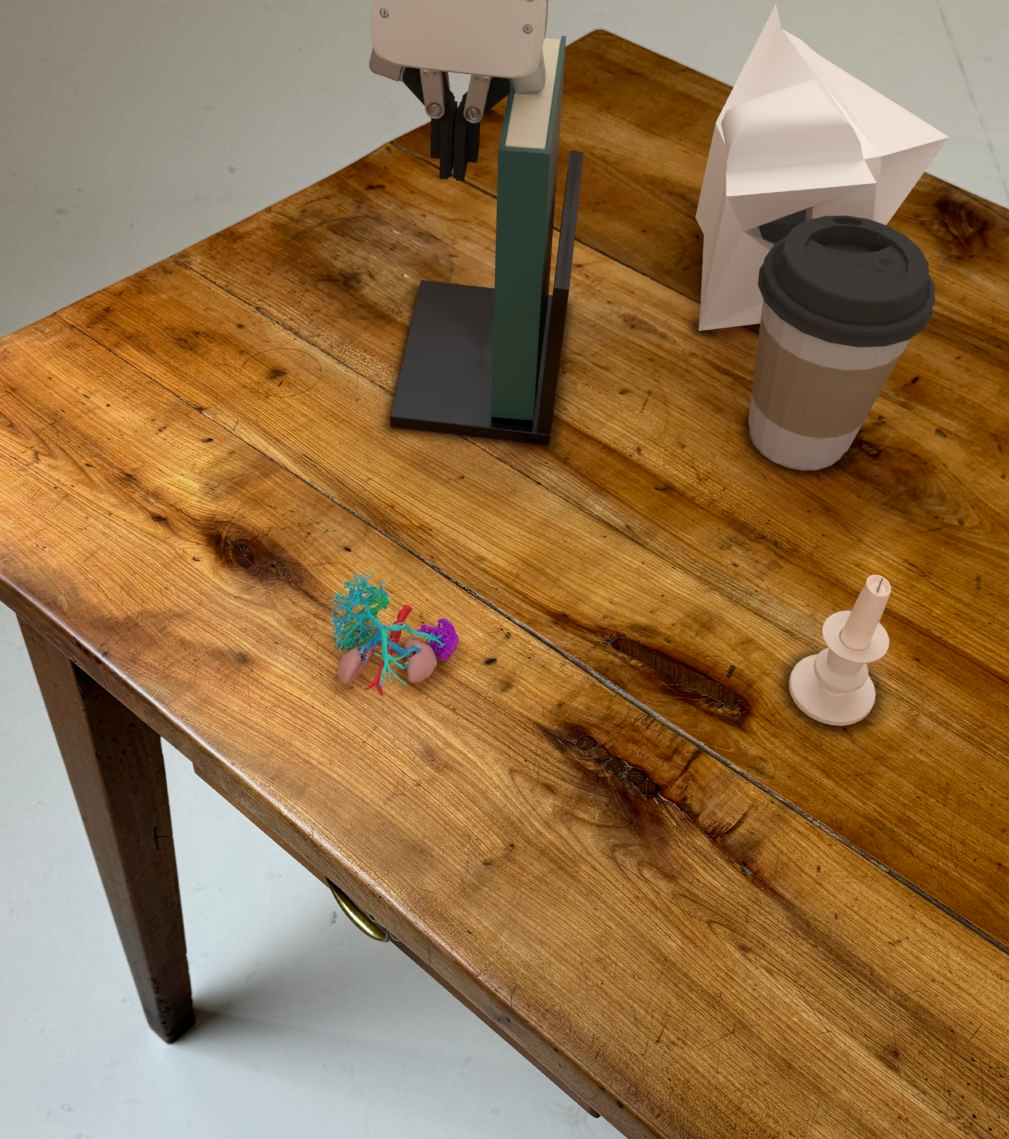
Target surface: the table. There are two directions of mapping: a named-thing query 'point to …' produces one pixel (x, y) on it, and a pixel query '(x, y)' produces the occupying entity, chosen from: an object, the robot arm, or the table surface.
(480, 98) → the robot arm
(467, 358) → the book stand
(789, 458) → the coffee cup
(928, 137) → the folded paper
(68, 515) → the table surface
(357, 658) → the anatomy model
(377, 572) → the table surface
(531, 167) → the book
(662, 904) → the table surface
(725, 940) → the table surface
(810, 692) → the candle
